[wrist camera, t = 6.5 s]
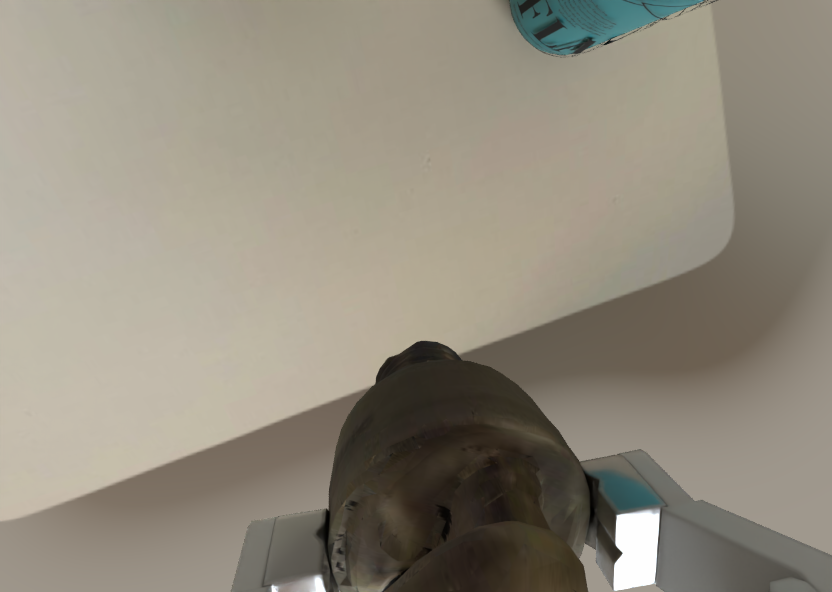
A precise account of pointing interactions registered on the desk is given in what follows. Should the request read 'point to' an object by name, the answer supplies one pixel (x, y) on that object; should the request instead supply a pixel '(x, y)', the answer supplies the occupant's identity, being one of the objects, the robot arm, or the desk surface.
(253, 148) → the desk surface
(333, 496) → the light bulb
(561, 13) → the beverage bottle
